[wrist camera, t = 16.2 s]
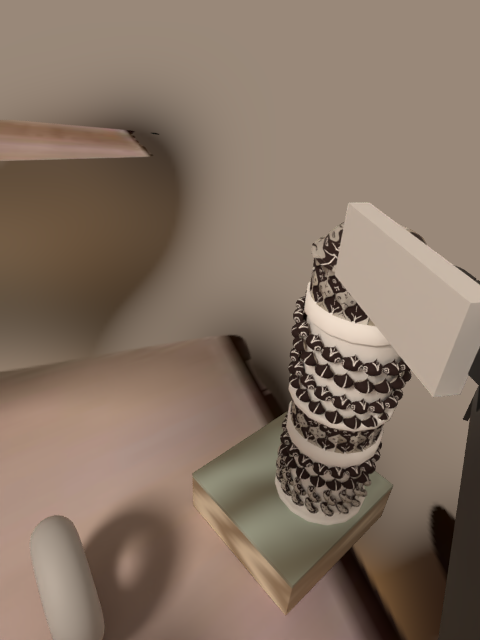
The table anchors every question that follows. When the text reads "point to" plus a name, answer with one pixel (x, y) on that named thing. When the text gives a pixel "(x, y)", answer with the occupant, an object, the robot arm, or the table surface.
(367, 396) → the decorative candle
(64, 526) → the donut
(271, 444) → the riser
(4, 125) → the table surface
